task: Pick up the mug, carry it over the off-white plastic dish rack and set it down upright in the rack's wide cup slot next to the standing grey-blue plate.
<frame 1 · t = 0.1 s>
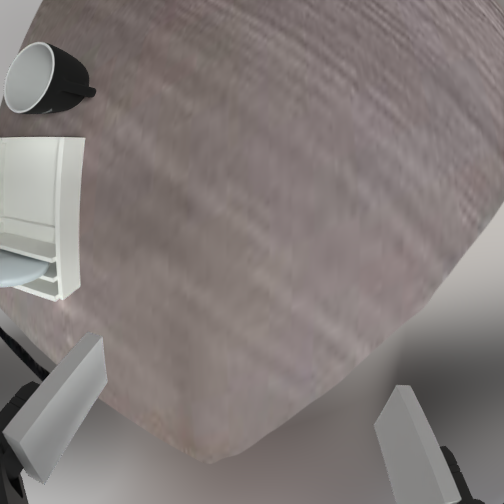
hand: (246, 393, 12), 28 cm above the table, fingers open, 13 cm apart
plate in rack: (38, 247, 42), resting on dish rack
mug: (79, 89, 35), on the table
dish rack: (37, 208, 40), on the table
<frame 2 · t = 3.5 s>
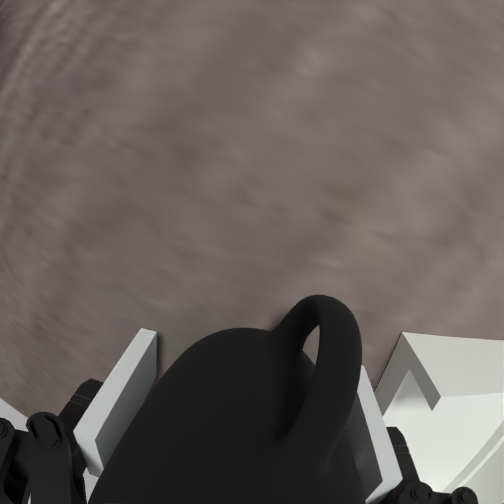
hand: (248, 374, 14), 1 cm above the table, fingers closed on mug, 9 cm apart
mug: (260, 354, 15), on the table, touching gripper
dish rack: (470, 432, 17), on the table
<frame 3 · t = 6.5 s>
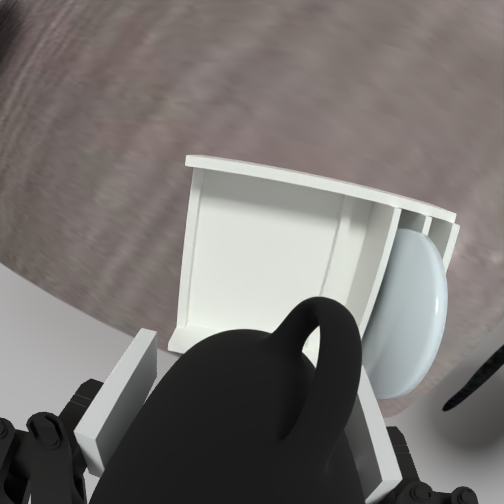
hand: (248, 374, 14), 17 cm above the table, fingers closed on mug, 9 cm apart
plate in rack: (366, 277, 29), resting on dish rack
mug: (260, 355, 15), point 15 cm above the table, touching gripper
dish rack: (304, 266, 29), on the table
when the fingers open (4 cm above the table, at t = 9.1 s): mug drops 1 cm, resting on dish rack.
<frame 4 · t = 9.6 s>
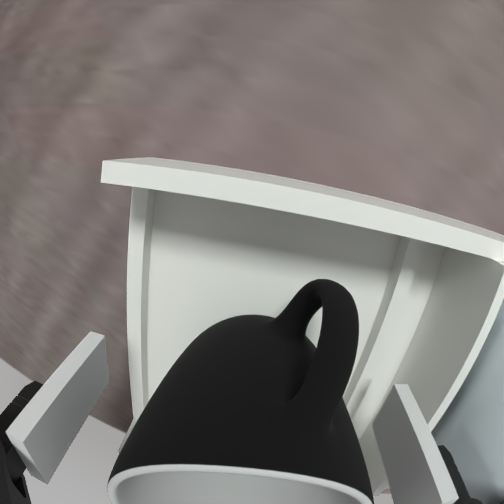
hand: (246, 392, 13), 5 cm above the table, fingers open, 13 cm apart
plate in rack: (419, 352, 17), resting on dish rack
mug: (266, 340, 17), point 1 cm above the table, touching dish rack
dish rack: (328, 343, 17), on the table
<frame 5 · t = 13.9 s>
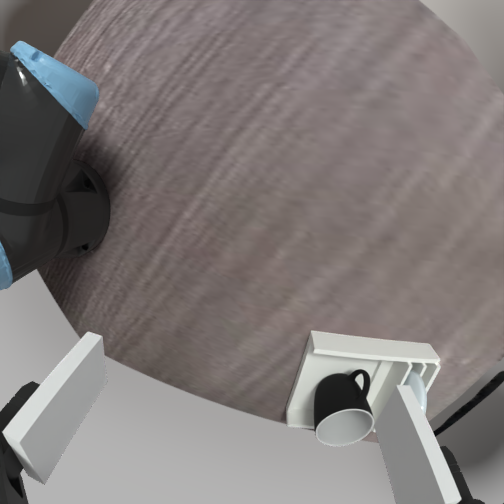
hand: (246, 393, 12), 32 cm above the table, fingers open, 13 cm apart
plate in rack: (389, 380, 50), resting on dish rack
mug: (340, 379, 49), point 1 cm above the table, touching dish rack
dish rack: (358, 378, 50), on the table
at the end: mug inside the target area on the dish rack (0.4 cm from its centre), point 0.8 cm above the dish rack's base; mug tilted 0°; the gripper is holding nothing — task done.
